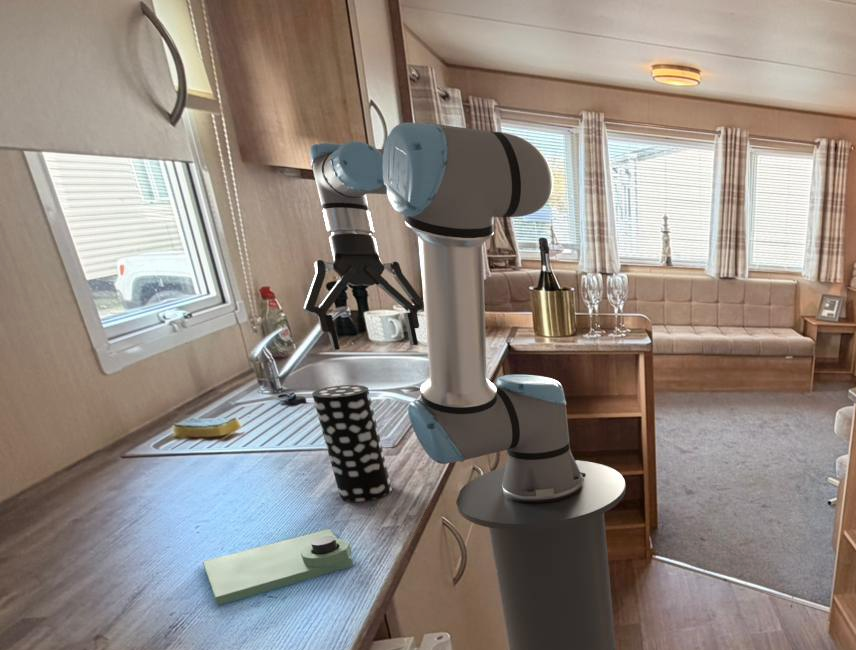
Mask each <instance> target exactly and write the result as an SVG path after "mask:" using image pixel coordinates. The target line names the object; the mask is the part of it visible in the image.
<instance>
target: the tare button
mask: <svg viewBox="0 0 856 650" xmlns="http://www.w3.org/2000/svg"><path fill="white" fill-rule="evenodd" d="M335 537H336V536H335ZM335 537H333V536H323V537H319V538H316V539H314V540H313V541H312V542H311V545H312V548H313V552H314V554H317V555H319V554H326V553H330V552H333V551H335V550H337V549H338V546H337V543H336V539H335Z"/></svg>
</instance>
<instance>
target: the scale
mask: <svg viewBox="0 0 856 650" xmlns="http://www.w3.org/2000/svg"><path fill="white" fill-rule="evenodd" d="M323 536H333V537H335V539H336V543H337V546H338V549H337V550H335V551H333V552H330V553H326V554H319V555H317V554H314V552H313V548H312V545H311V542H312V541H313V540H314V539H316V538H319V537H323ZM352 554H353V552H352V548H351V544H350V542H349V541H348V540H345V539H339V538H337V536H335V534H334V533H333V531H332V530H331V529H330V528H328V529H323V530H320V531H317V532H316V531H315V532H312V533H308V534H305V535H300V536H296V537H292V538H289V539H285V540H281V541H277V542H273V543H268V544H265V545H261V546H257V547H254V548H250V549H246V550H241V551H238V552H233V553H231V554H225V555H222V556H218V557H215V558H210V559H206V560H203V561H202V565H203V568H204V570H205V573H206V576H207V579H208V583H209V585H210V588H211V590H212V593H213V596H214V599H215V601H216V604H217V606H219V607H220V606H223V605H227V604H229V603H233V602H237V601H240V600H243V599H247V598H250V597H253V596H256V595H259V594H264V593H267V592H271V591H274V590H277V589H280V588H284V587H287V586H290V585H294V584H297V583H301V582H304V581H308V580H311V579H315V578H317V577H321V576H324V575H327V574H328V575H329V574H331V573H335V572H338V571H341V570H342V571H343V570H344V569H348V568H352V567H354V561H353V558H352V556H351V555H352Z"/></svg>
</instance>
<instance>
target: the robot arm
mask: <svg viewBox="0 0 856 650" xmlns="http://www.w3.org/2000/svg"><path fill="white" fill-rule="evenodd" d="M309 155H310V161H311V162H310V167H311V170H312V171H313V177H314V179H315V184H316V189H317V192H318V196H319V200H320V205H321V209H322V213H323V218H324V222H325V228H326V231H327V232H328V233H329V234H331V235H329V237H328V241H329V245H330V250H331V254H332V258H333V259H332V262H330V261H324V260H322V259H318V260H316V261H315V262H314V272H315V273H314V277H313V278H312V282H311V286H310V288H309V291H308V294H307V296H306V300H305V302H304V306H303V310H304V312H307V313H311V314H314V315H316V317H317V319H318V323H319V329H320V331H321V332H322V333H327V334H328V337H329V341H330V346H331V350H332V351H336V350H337V351H338V350H340V349H341V348H340V344H339V341H338V336H337V332H336V327H335V323H334V319H333V314H327V313H328V311H329V309H331V307H332V306H333V304H334V303H335V301H336V300H337V299H338V298H339V296H340V295H341V294H342V292H343V291H344V289H345V288H346V287H347V286H348V285H350V286H351V287H355V286H356V287H358V286H365V287H372V286H374V285H376V286H377V287H378V288H380V289H381V290H383V292H385V293H386V294H387V295H388V296H389V297H390V298H392V299H393V300H394V301H395V302H396V303H397V304H398V305H399V306H401V307H402V308H403V309H404V310H405V311H406V312H403V317H404V323H405V327H406V332H407V336H408V340H409V345H410V346H418V345H419V343H418V338H417V333H416V329H419V328H420V323H419V317H418V312H419V311H421V310H424V311H423V312H424V323H425V335H426V336H425V337H426V346H427V347H426V348H427V357H428V372H429V377H428V378H427V379H426V380H424V381H423V382H422V383H421V385H420V399H415V400H413V401H410V402H409V404H408V407H407V413H408V417H409V422H410V424H411V427H412V429H413V432H414V434H415V436H416V439H417V440H418V442H419V444H420V446H421V447H422V450H424V452H425V453H426V455H427V456H428V457H429V458H430V460H432V461H434V462H435V463H437V464H441V465H447V464H453V463H457V462H460V463H463V462H465V461H467V460H470V459H475V458H479V457H483V456H487V455H492V454H495V453H499V452H503V451H506V452H507V460H506V464H505V467H506V469H505V473H504V478H503V484H502V487H503V494H504V496H505V497H506V498H507V499H509V500H511V501H514V502H518V503H524V504H544V503H552V502H557V501H561V500H564V499H567V498H570V497H572V496H574V495H576V494H577V493H579V492H580V491H581V490H582V488H583V477H585V476H586V473H583V472H580V470H579V468H578V466H577V464H576V462H575V460H576V459H575V458H574V456H573V453H572V451H571V443H570V433H569V425H568V416H567V415H568V413H567V407H566V406H567V401H566V397H565V396H566V395H565V391H564V388H563V385H562V384H561V382H559V381H558V380H556V379H554V378H551V377H547V376H543V375H533V374H505V375H502V376H499V377H497V379H496V382H495V384H494V383H493V382H491V381H490V380H489V379H488V378H487V346H486V345H487V344H486V342H487V341H486V339H487V338H486V308H485V306H486V305H485V271H484V269H485V268H484V243H485V242H487V241H488V240H489V239H490V238H491V237H492V236H494V219H495V218H519V217H526V216H529V215H532V214H534V213H536V212H538V211H540V210H541V209H543V207H544V206H546V204H547V203H548V202H549V201H550V199H551V197H552V194H553V191H554V175H553V171H552V168H551V166H550V163H549V161H548V160H547V158H546V157H545V155H544V154H543V152H541V150H539V149H538V148H537V147H536V146H535V145H534V144H532V143H531V142H529V141H528V140H526V139H524V138H522V137H520V136H518V135H514V134H511V133H508V132H507V133H506V132H503V131H502V132H501V131H491V130H482V129H475V128H468V127H461V126H454V125H447V124H440V123H434V122H402V123H399V124H397V125H395V126H394V127H393V128H392V129H391V130H390V132H389V134H388V135H387V137H386V139H385V143H384V147H383V149H382V148H376V147H374V146H372V145H371V144H368V143H366V142H362V141H349V142H346V143H344V144H339V143H331V142H323V143H322V142H321V143H319V144H318V143H315V144H313V145H311V146H310V148H309ZM368 194H369V195H370V194H374V195H386V196H387V198H388V202H389V203H390V205H391V206H392V208H393V209H394V210H395V211H396V212H397V213H399V214H400V215H403V216H404V223H405V225H406V226H407V227H408V228H409V229H410V230H411V231H413V233H415V234H416V235H417V238H418V249H419V261H420V262H419V263H420V272H421V273H420V275H421V286H422V298H423V300H422V298H421V296H420V295H419V294H418V292H417V291H416V290H415V288H414V287H413V285H412V284H411V283H410V282H409V280H408V279H407V277H405V275H404V274H403V272H402V269H401V265H400V263H399V262H398V261H392V262H388V263H383V262H382V260H381V259H380V254H379V249H378V245H377V240H376V238H375V236H372V235H373V234H374V233H375V230H374V227H373V226H374V225H373V221H372V217H371V212H370V208H369V203H368V197H367V195H368ZM331 269H332V270H333V271H334V272H335V273H336V274H337V275H338V276H339V278H338V280H337V281H336V283H335V284H334V285H333V287H332V288H331V289H330V291H329V292H328V294H327V295H326V296H325V298H324V299H323V300H322V301H321V303H320V304H319V306H316V304H317V301H318V298H319V295H320V292H321V289H322V287H323V283H324V281H325V277H326V275H327V274H329V273H330V271H331ZM384 271H387V272H388V274H390V275H392V276H393V278H394V280H395V281H396V282H397V284H398V285H399V287H400V288H401V289H402V291H403V292H404V293H405V295H406V296H407V297H408V298H409V300H408V299H407V298H406V297H405V296H404V295H403V294H402V293H400V292H399V291H398V290H397V289H396V288H394V287H393V285H391V284H390V283H389V281H387V280H386V279H385V278H384V277H383V276H382V274H383V273H384Z"/></svg>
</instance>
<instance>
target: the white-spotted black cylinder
mask: <svg viewBox="0 0 856 650" xmlns="http://www.w3.org/2000/svg"><path fill="white" fill-rule="evenodd" d="M370 394H371V393H370V390H369V387H368V386H365V385H360V384H359V385H358V384H341V385H332V386H327V387H326V386H325V387H322V388H319V389H316V390H314V391H313V392H312V393H311V395H312V399H313V403H314V407H315V410H316V414H317V417H318V420H319V424H320V428H321V431H322V434H323V439H324V442H325V446H326V450H327V454H328V457H329V462H330V464H331V468H332V471H333V472H332V473H333V476H334V478H335V482H336V486H337V490H338V494H339V498H340V499H341V500H342V501H346V502H367V501H371V500H375V499H379V498H382V497H384V496H386V495H388V494H390V493H391V491H392V490H393V488H392V483H391V480H390V479H391V478H390V475H389V471H388V467H387V462H386V459H385V454H384V450H383V445H382V441H381V437H380V433H379V429H378V424H377V420H376V416H375V412H374V407H373V403H372V399H371V395H370Z"/></svg>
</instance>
